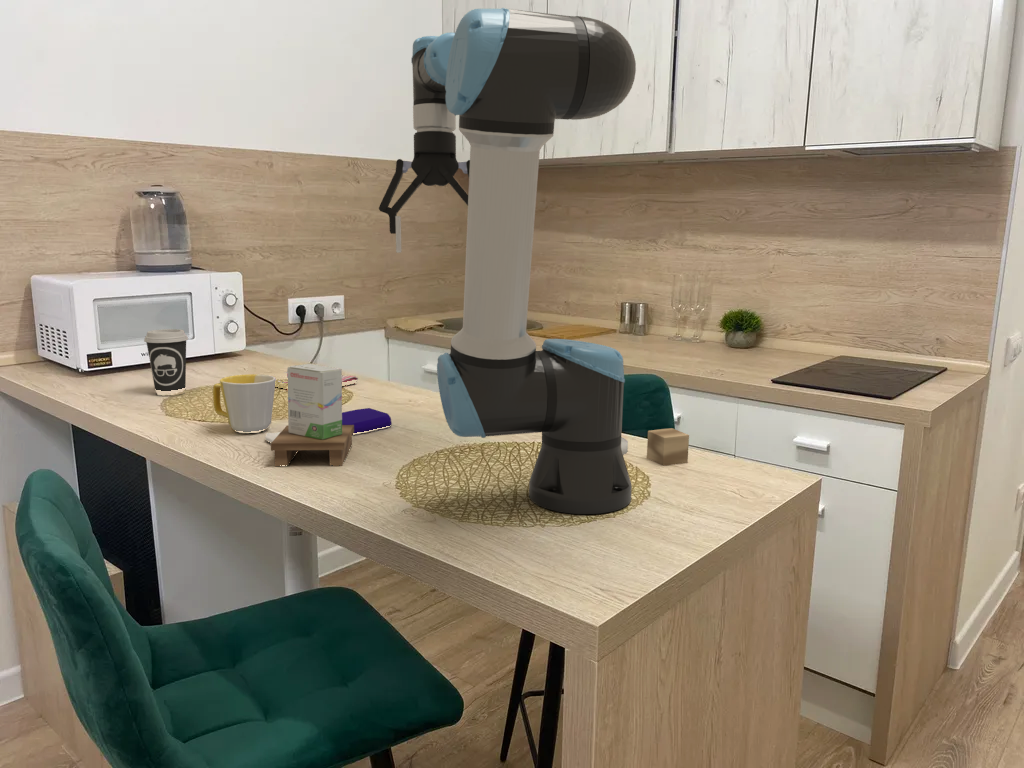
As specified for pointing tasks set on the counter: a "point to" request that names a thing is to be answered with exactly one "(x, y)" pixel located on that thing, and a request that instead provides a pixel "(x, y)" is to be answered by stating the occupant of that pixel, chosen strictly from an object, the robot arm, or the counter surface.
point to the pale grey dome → (624, 445)
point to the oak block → (667, 446)
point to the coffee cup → (167, 358)
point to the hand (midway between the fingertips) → (436, 252)
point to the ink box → (314, 401)
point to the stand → (312, 445)
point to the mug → (246, 401)
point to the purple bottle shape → (356, 421)
